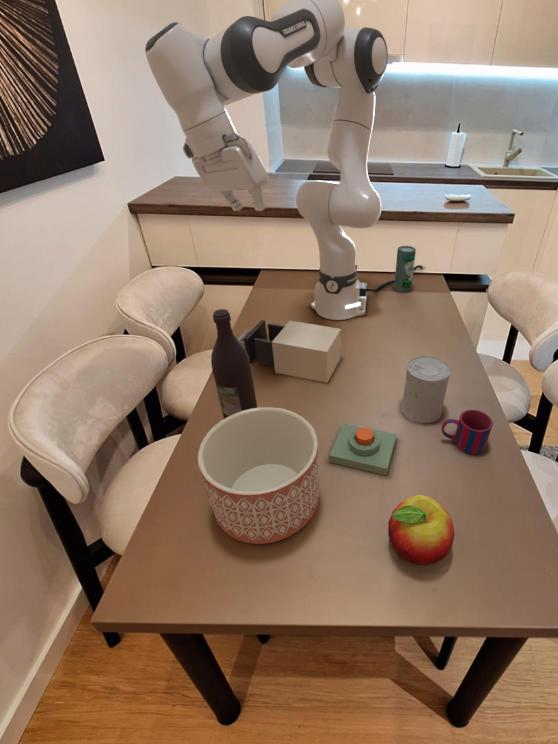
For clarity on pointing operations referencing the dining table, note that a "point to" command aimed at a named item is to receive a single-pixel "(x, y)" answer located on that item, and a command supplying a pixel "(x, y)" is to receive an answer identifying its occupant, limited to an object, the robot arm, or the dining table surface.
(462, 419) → the mug
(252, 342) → the drawer
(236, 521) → the planter
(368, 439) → the button
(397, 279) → the can
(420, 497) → the fruit
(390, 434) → the box
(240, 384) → the wine bottle
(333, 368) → the cream cardboard box
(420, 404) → the gray concrete cylinder
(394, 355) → the dining table surface
